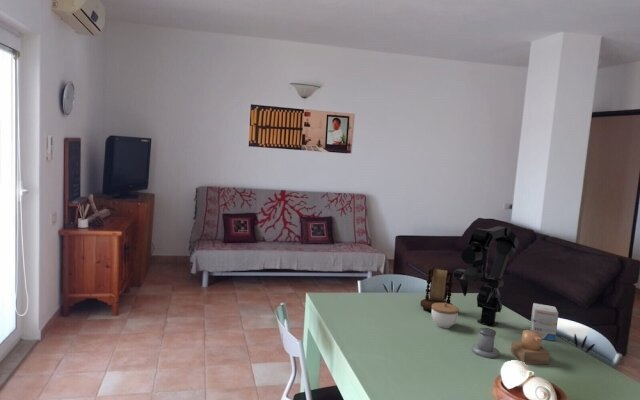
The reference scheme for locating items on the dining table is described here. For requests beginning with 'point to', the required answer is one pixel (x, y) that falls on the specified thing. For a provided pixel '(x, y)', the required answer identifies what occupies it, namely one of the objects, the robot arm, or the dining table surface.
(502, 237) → the robot arm
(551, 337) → the ink box
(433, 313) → the lidded jar
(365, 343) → the dining table surface
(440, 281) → the scroll
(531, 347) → the cap
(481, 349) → the grey pedestal post
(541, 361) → the stand
